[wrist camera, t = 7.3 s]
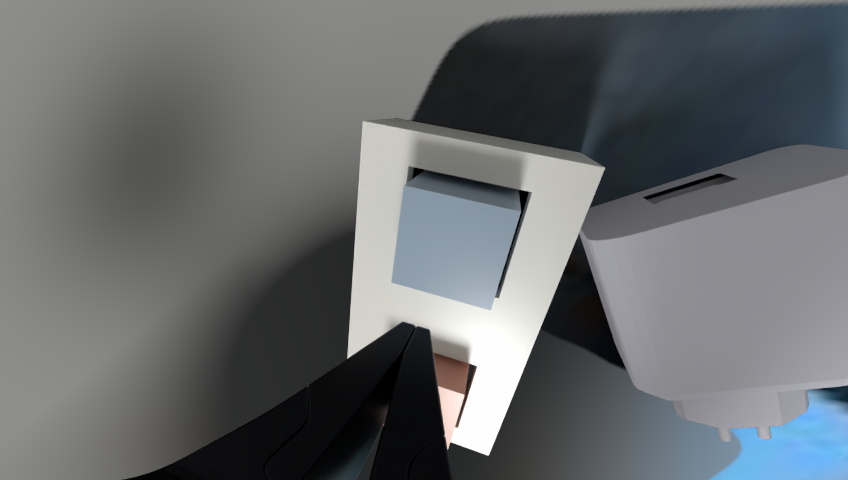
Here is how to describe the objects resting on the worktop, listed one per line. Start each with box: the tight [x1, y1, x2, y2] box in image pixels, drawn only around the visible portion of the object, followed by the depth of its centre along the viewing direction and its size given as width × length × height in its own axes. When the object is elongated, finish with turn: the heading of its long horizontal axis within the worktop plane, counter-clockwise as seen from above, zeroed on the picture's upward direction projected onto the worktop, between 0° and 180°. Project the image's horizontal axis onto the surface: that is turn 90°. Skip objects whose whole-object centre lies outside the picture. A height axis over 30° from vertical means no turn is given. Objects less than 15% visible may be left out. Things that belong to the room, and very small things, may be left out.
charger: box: [579, 145, 848, 442], centre depth 15 cm, size 5×9×15 cm
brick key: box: [383, 352, 470, 449], centre depth 19 cm, size 5×5×4 cm
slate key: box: [391, 170, 521, 310], centre depth 15 cm, size 5×5×4 cm
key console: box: [347, 118, 605, 455], centre depth 18 cm, size 18×10×4 cm, turn 171°
